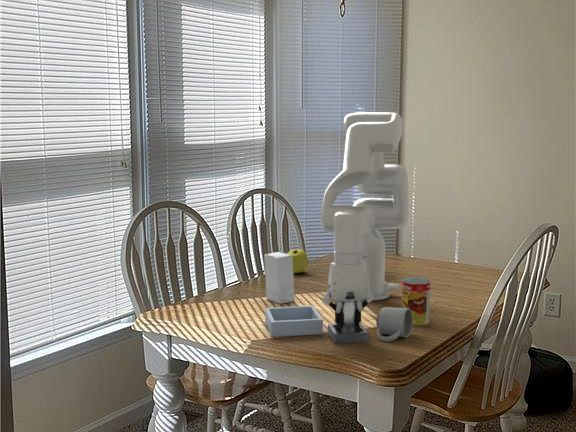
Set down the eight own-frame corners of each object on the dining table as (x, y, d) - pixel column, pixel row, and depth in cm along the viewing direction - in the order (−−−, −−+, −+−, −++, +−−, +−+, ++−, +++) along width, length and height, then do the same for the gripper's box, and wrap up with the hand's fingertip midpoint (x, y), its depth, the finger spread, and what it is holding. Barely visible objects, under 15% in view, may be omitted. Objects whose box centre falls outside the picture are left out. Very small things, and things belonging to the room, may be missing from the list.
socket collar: (360, 331, 205) (360, 322, 204) (368, 341, 196) (368, 332, 195) (327, 333, 203) (327, 324, 203) (334, 343, 195) (334, 334, 194)
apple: (287, 270, 278) (287, 243, 277) (308, 270, 277) (308, 244, 275) (284, 275, 270) (284, 248, 269) (306, 275, 269) (306, 248, 268)
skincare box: (295, 301, 235) (294, 255, 233) (278, 304, 232) (278, 257, 229) (280, 296, 242) (279, 250, 240) (264, 298, 239) (263, 252, 236)
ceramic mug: (385, 328, 207) (385, 301, 205) (413, 332, 203) (413, 305, 202) (369, 340, 198) (369, 312, 196) (399, 344, 194) (399, 316, 192)
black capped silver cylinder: (354, 333, 203) (354, 286, 201) (359, 339, 198) (359, 291, 196) (336, 334, 202) (336, 287, 200) (341, 340, 197) (341, 292, 195)
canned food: (399, 317, 217) (400, 276, 215) (427, 317, 217) (428, 276, 215) (403, 325, 210) (403, 283, 208) (431, 325, 209) (432, 283, 207)
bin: (313, 319, 216) (313, 305, 216) (322, 333, 203) (322, 319, 202) (265, 321, 214) (265, 307, 214) (271, 336, 201) (271, 322, 200)
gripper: (374, 253, 201) (374, 319, 204) (313, 256, 198) (314, 323, 201) (383, 259, 194) (382, 327, 197) (320, 262, 191) (320, 332, 194)
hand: (348, 324), depth 199 cm, fingers closed on black capped silver cylinder, 4 cm apart
